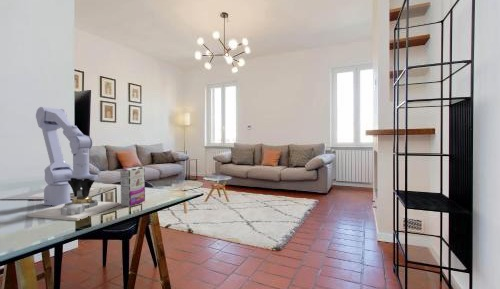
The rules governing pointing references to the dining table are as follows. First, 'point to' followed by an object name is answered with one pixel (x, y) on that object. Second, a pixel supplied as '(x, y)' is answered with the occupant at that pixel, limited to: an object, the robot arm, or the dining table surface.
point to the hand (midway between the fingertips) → (81, 196)
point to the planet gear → (81, 198)
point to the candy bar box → (132, 186)
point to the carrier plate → (74, 210)
